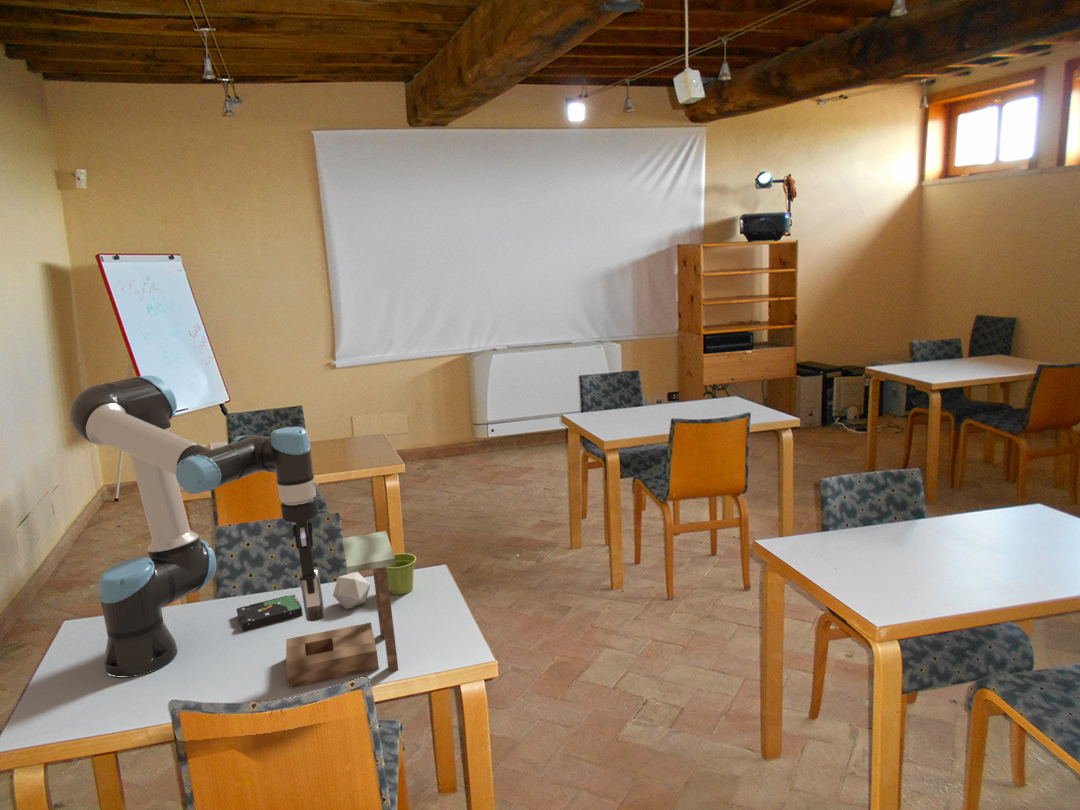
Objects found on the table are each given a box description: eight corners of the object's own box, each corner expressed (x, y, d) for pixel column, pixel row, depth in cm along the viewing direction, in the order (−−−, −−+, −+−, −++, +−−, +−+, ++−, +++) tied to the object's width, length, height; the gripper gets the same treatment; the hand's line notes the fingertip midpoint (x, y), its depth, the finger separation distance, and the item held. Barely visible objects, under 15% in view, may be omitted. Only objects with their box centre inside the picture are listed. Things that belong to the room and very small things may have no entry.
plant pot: (426, 585, 213) (422, 555, 211) (406, 600, 205) (402, 569, 203) (397, 581, 217) (394, 551, 215) (377, 595, 209) (373, 565, 207)
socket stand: (288, 693, 164) (271, 580, 159) (289, 653, 181) (274, 549, 176) (407, 667, 171) (395, 558, 166) (397, 631, 188) (385, 530, 183)
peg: (306, 622, 170) (299, 575, 168) (305, 615, 174) (299, 568, 171) (325, 619, 171) (318, 572, 169) (324, 611, 175) (317, 565, 172)
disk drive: (243, 634, 193) (303, 617, 200) (241, 623, 193) (302, 606, 199) (237, 618, 202) (295, 602, 209) (235, 608, 202) (294, 592, 208)
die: (364, 595, 211) (338, 570, 208) (382, 586, 205) (355, 560, 203) (347, 619, 204) (320, 593, 202) (366, 610, 199) (338, 584, 197)
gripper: (317, 508, 160) (332, 614, 164) (315, 486, 176) (329, 583, 180) (279, 514, 158) (295, 621, 162) (281, 491, 174) (295, 589, 178)
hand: (313, 601), depth 171 cm, fingers closed on peg, 4 cm apart
